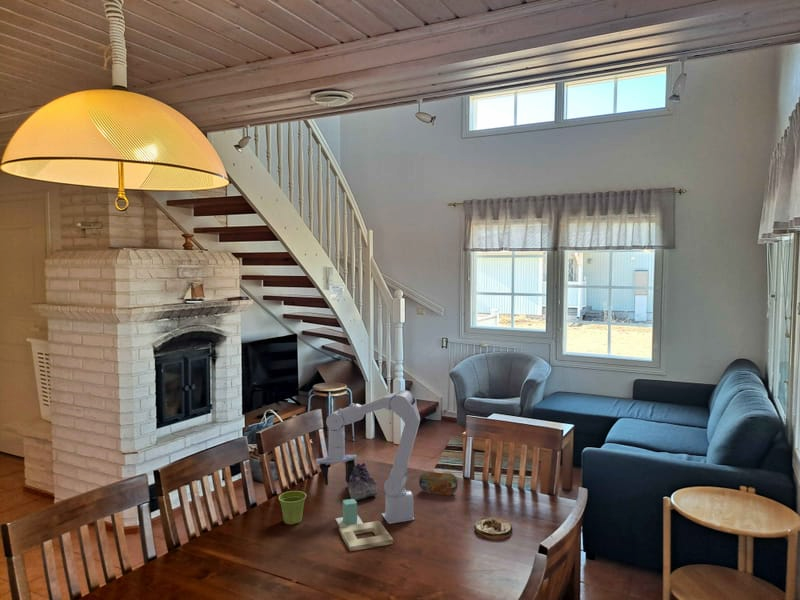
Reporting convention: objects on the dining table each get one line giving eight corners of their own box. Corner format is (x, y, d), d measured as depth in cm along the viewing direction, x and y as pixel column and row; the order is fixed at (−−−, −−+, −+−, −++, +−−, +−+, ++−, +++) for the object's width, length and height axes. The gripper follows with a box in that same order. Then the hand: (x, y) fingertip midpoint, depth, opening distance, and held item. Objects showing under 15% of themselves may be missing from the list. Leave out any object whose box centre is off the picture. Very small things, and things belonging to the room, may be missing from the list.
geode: (339, 483, 226) (342, 459, 226) (367, 484, 229) (370, 460, 229) (347, 501, 206) (350, 474, 206) (377, 502, 209) (381, 476, 209)
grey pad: (357, 516, 195) (357, 514, 195) (364, 525, 188) (364, 524, 188) (335, 519, 193) (335, 518, 193) (341, 529, 185) (341, 528, 185)
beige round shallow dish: (522, 528, 187) (522, 516, 187) (506, 547, 174) (506, 534, 174) (481, 518, 195) (481, 506, 194) (463, 535, 182) (463, 523, 182)
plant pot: (300, 528, 186) (300, 502, 186) (274, 525, 188) (274, 500, 187) (310, 516, 195) (310, 492, 195) (285, 513, 197) (285, 489, 197)
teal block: (354, 518, 193) (353, 498, 192) (357, 523, 189) (357, 503, 188) (342, 520, 191) (342, 500, 191) (345, 525, 187) (345, 504, 187)
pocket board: (379, 524, 189) (379, 520, 189) (393, 543, 176) (393, 539, 176) (338, 531, 184) (338, 527, 184) (350, 551, 171) (350, 546, 171)
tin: (418, 492, 217) (418, 471, 216) (420, 489, 220) (420, 468, 219) (456, 497, 212) (457, 475, 212) (458, 493, 215) (458, 472, 215)
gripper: (353, 440, 204) (353, 476, 205) (314, 444, 199) (314, 481, 200) (358, 445, 197) (358, 483, 198) (318, 450, 192) (318, 488, 193)
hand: (336, 483), depth 198 cm, fingers open, 7 cm apart
